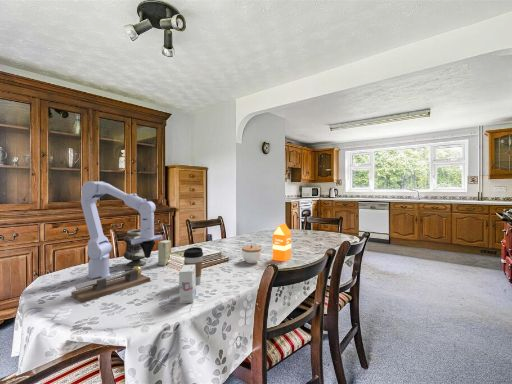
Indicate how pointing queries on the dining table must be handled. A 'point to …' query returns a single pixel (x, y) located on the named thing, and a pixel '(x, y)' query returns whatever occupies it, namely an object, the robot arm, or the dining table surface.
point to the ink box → (187, 283)
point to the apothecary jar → (133, 249)
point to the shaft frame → (109, 286)
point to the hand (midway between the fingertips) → (147, 257)
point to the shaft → (107, 278)
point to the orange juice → (282, 243)
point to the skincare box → (164, 252)
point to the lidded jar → (251, 253)
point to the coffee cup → (194, 260)
